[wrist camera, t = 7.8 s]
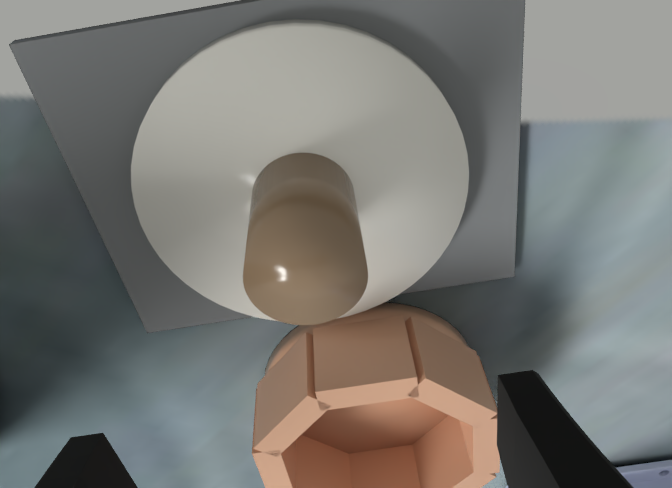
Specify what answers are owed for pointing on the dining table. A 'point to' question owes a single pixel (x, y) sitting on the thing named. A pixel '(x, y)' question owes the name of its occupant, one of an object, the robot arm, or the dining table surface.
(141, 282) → the mat
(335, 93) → the lid
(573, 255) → the dining table surface
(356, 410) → the bowl
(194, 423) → the dining table surface
